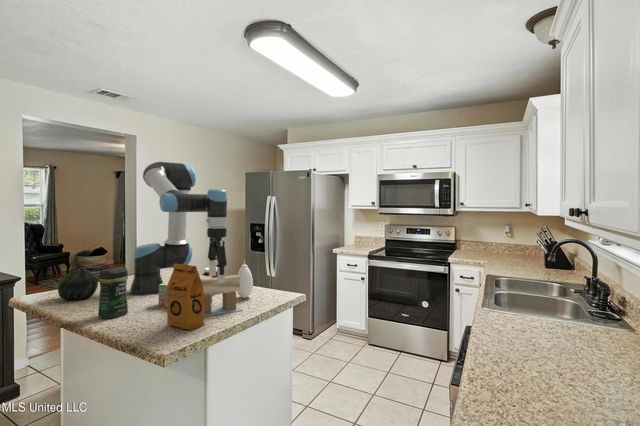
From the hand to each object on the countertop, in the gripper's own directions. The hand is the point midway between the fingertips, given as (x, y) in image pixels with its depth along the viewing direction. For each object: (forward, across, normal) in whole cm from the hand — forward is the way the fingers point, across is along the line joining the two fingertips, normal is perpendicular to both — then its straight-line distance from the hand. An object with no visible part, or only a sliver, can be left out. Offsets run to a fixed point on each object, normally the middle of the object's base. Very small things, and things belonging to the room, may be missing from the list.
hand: (216, 279), depth 136 cm
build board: (+13, +1, 0) cm, 13 cm away
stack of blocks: (+14, -15, -9) cm, 22 cm away
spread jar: (+14, -30, +5) cm, 33 cm away
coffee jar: (+14, -14, -36) cm, 41 cm away
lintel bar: (+6, +1, 0) cm, 6 cm away
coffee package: (+13, +12, -14) cm, 22 cm away
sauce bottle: (+13, -13, +16) cm, 25 cm away
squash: (+14, -50, -50) cm, 72 cm away
